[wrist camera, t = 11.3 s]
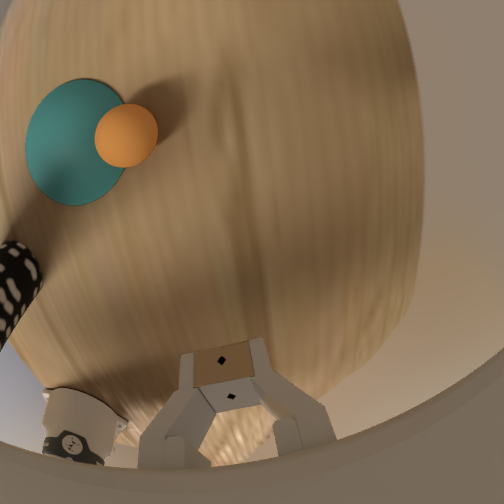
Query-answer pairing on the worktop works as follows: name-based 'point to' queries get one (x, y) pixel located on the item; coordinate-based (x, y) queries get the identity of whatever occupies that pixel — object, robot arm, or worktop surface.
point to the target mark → (71, 143)
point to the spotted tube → (16, 285)
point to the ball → (126, 135)
